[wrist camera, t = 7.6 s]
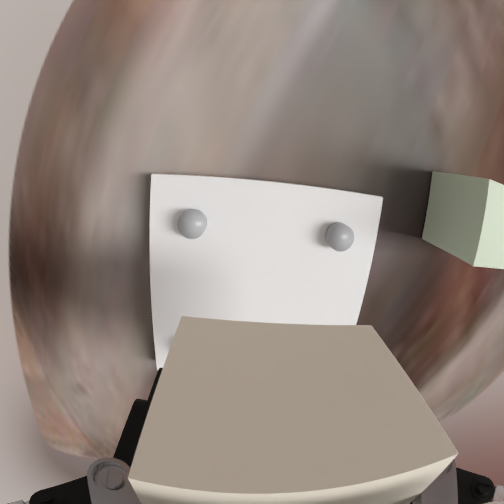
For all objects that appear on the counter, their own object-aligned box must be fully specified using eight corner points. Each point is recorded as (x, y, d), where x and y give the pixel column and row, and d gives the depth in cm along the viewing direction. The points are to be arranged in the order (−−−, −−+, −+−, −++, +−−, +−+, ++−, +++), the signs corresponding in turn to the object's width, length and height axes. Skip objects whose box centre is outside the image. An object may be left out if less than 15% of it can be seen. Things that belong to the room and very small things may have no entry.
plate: (156, 173, 17) (147, 174, 15) (376, 195, 18) (388, 199, 16) (159, 361, 21) (154, 376, 19) (335, 371, 22) (341, 385, 20)
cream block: (181, 315, 9) (127, 477, 3) (371, 325, 9) (458, 453, 4) (188, 436, 11) (172, 550, 5) (328, 438, 11) (356, 543, 6)
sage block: (432, 171, 17) (489, 179, 11) (475, 185, 17) (529, 196, 12) (421, 238, 19) (473, 266, 13) (465, 245, 19) (514, 270, 13)
